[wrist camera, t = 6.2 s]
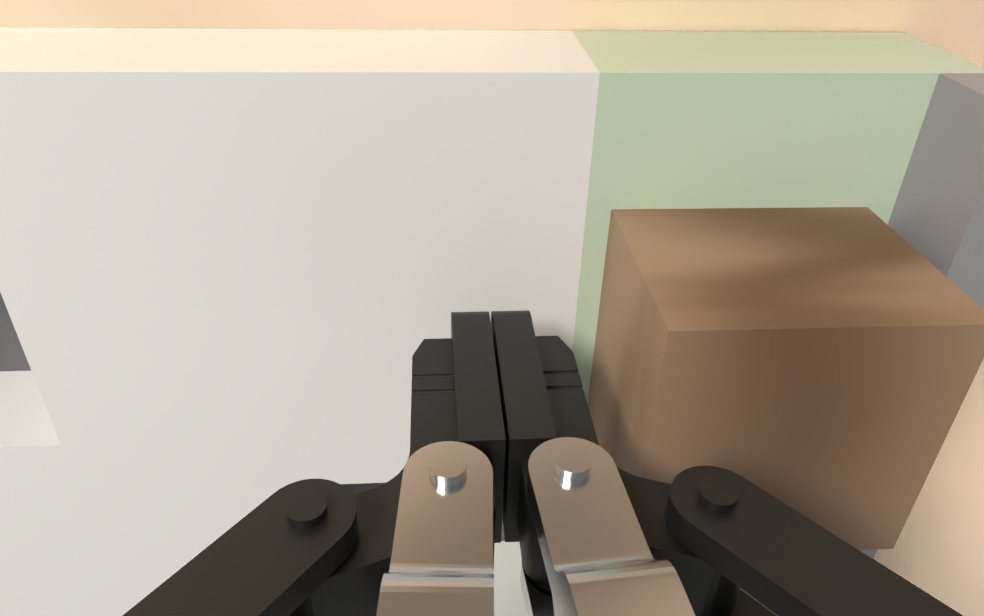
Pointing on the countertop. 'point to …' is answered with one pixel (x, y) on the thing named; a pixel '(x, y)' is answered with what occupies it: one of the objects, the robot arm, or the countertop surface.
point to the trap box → (374, 241)
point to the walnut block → (782, 357)
